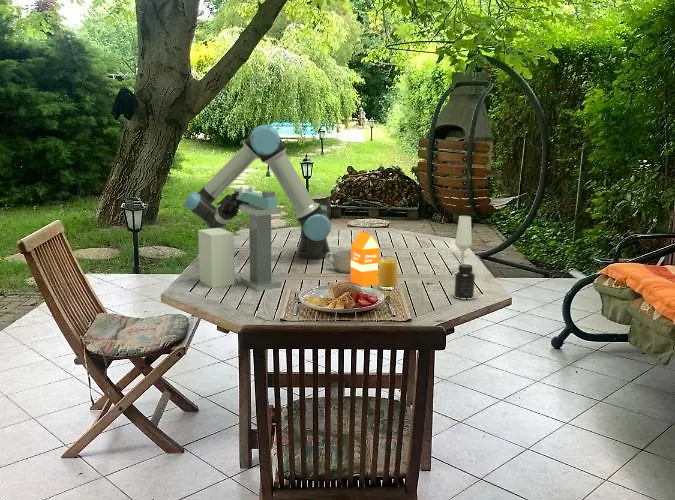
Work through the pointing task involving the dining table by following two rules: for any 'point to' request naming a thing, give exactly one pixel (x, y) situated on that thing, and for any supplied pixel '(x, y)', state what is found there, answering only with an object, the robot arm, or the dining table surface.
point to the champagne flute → (463, 235)
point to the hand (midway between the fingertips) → (248, 189)
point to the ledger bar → (260, 198)
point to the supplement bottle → (464, 282)
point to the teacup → (341, 260)
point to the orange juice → (364, 260)
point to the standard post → (260, 247)
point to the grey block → (216, 257)
